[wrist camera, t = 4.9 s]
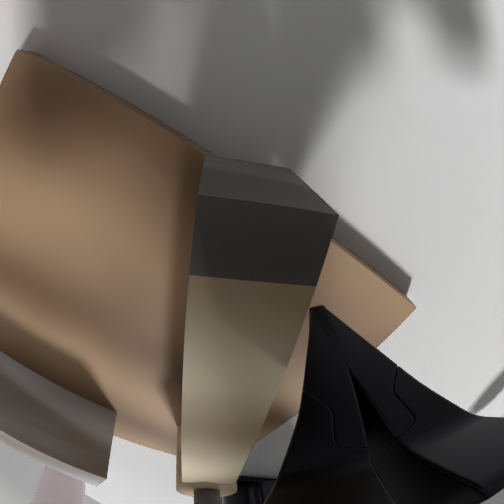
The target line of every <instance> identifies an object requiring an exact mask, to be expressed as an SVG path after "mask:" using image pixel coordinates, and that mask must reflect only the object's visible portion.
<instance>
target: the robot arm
mask: <svg viewBox="0 0 504 504" xmlns="http://www.w3.org/2000/svg"><path fill="white" fill-rule="evenodd" d="M236 482H237V492H236V493H234V494H232V495H229V496H224V497H221V504H504V418H501V417H483V416H478V415H475V414H472V413H469V412H467V411H465V410H464V409H462V408H460V407H459V406H457V405H455V404H454V403H452V402H450V401H449V400H447V399H445V398H444V397H442V396H440V395H439V394H437V393H436V392H434V391H432V390H431V389H429V388H428V387H426V386H425V385H423V384H422V383H420V382H419V381H418V380H416V379H415V378H414V377H412V376H411V375H410V374H408V373H407V372H406V371H404V370H403V369H402V368H401V367H399V366H398V367H397V364H395V363H394V362H393V361H392V360H390V359H389V358H388V357H387V356H385V355H384V354H383V353H382V352H380V351H379V350H378V349H377V348H375V347H374V346H373V345H372V344H370V343H369V342H368V341H367V340H365V339H364V338H363V337H362V336H360V335H359V334H358V333H357V332H355V331H354V330H353V329H352V328H350V327H349V326H348V325H346V324H345V323H344V322H343V321H341V320H340V319H339V318H338V317H336V316H335V315H334V314H333V313H331V312H330V311H329V310H328V309H326V307H325V306H324V305H319V306H314V307H310V308H309V336H308V346H307V355H306V364H305V372H304V381H303V388H302V395H301V402H300V408H299V413H298V418H297V422H296V426H295V429H294V432H293V436H292V439H291V441H290V444H289V447H288V450H287V453H286V456H285V458H284V461H283V464H282V467H281V469H280V472H279V475H278V477H277V479H276V480H264V479H254V478H245V477H240V478H238V479H237V481H236Z"/></svg>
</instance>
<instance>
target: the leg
mask: <svg viewBox="0 0 504 504" xmlns="http://www.w3.org/2000/svg"><path fill="white" fill-rule="evenodd" d="M338 216H339V215H338V214H337V213H336V212H335V211H334V210H333V209H332V208H331V207H330V206H329V205H328V204H327V203H326V202H325V201H324V200H323V199H322V198H321V197H320V196H319V195H318V194H316V193H315V192H314V191H313V190H312V189H311V188H310V187H309V186H308V185H307V184H306V183H305V182H304V181H303V180H302V179H300V178H299V177H298V176H297V175H296V174H295V173H294V172H293V171H292V170H291V169H287V168H282V167H276V166H270V165H264V164H258V163H252V162H245V161H239V160H232V159H225V158H217V157H209V156H205V159H204V164H203V169H202V174H201V180H200V185H199V191H198V197H197V205H196V213H195V222H194V231H193V240H192V250H191V260H190V270H189V282H188V294H187V307H186V321H185V337H184V356H183V380H182V421H181V425H180V426H179V427H178V429H177V465H176V490H177V491H178V492H179V493H181V494H184V495H187V496H192V497H194V491H196V490H201V489H212V490H218V491H220V494H221V497H224V496H229V495H232V494H234V493H236V492H237V482H236V481H237V479H238V477H239V475H240V473H241V471H242V469H243V467H244V465H245V463H246V460H247V458H248V456H249V454H250V452H251V450H252V448H253V445H254V443H255V441H256V439H257V437H258V434H259V432H260V430H261V428H262V425H263V423H264V421H265V419H266V416H267V414H268V412H269V409H270V407H271V405H272V402H273V400H274V398H275V395H276V393H277V390H278V388H279V385H280V383H281V380H282V378H283V375H284V373H285V370H286V368H287V365H288V363H289V360H290V358H291V355H292V352H293V350H294V347H295V345H296V342H297V339H298V337H299V334H300V331H301V328H302V326H303V323H304V320H305V317H306V315H307V312H308V309H309V306H310V303H311V300H312V297H313V295H314V292H315V289H316V286H317V283H318V280H319V277H320V274H321V271H322V268H323V264H324V261H325V258H326V255H327V252H328V249H329V246H330V242H331V239H332V236H333V232H334V229H335V226H336V222H337V219H338Z"/></svg>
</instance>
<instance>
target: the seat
mask: <svg viewBox="0 0 504 504" xmlns="http://www.w3.org/2000/svg"><path fill="white" fill-rule="evenodd" d="M205 156H209V157H216V156H214V155H213V154H211V153H210V152H208V151H207V150H205V149H204V148H202V147H200V146H199V145H197V144H196V143H194V142H193V141H191V140H189V139H188V138H186V137H185V136H183V135H181V134H180V133H178V132H176V131H175V130H173V129H172V128H170V127H168V126H167V125H165V124H163V123H162V122H160V121H158V120H157V119H155V118H153V117H152V116H150V115H148V114H147V113H145V112H143V111H142V110H140V109H138V108H136V107H135V106H133V105H131V104H129V103H128V102H126V101H124V100H122V99H121V98H119V97H117V96H115V95H114V94H112V93H110V92H108V91H106V90H105V89H103V88H101V87H99V86H97V85H95V84H94V83H92V82H90V81H88V80H86V79H84V78H82V77H81V76H79V75H77V74H75V73H73V72H71V71H69V70H67V69H65V68H63V67H61V66H59V65H57V64H55V63H53V62H51V61H49V60H47V59H45V58H43V57H41V56H39V55H37V54H35V53H33V52H30V51H24V50H17V51H16V52H15V54H14V56H13V58H12V60H11V62H10V64H9V67H8V69H7V71H6V73H5V75H4V77H3V80H2V82H1V84H0V442H2V443H4V444H5V445H7V446H8V447H10V448H12V449H14V450H16V451H18V452H19V453H21V454H23V455H25V456H27V457H29V458H31V459H33V460H35V461H37V462H39V463H41V464H43V465H45V466H47V467H50V468H52V469H54V470H56V471H59V472H61V473H64V474H66V475H68V476H71V477H73V478H76V479H79V480H81V481H84V482H87V483H90V484H92V485H95V486H98V485H99V484H101V483H102V482H103V481H104V480H106V479H107V472H108V464H109V457H110V451H111V444H112V438H113V435H114V436H117V437H119V438H122V439H125V440H128V441H131V442H134V443H137V444H140V445H143V446H146V447H149V448H152V449H156V450H159V451H163V452H166V453H170V454H174V455H177V429H178V427H179V426H180V425H181V421H182V380H183V356H184V337H185V321H186V307H187V294H188V282H189V270H190V260H191V250H192V240H193V231H194V222H195V213H196V205H197V197H198V191H199V185H200V180H201V174H202V169H203V164H204V159H205ZM217 158H218V157H217ZM319 305H324V306H325V307H326V309H328V310H329V311H330V312H331V313H333V314H334V315H335V316H336V317H338V318H339V319H340V320H341V321H343V322H344V323H345V324H346V325H348V326H349V327H350V328H352V329H353V330H354V331H355V332H357V333H358V334H359V335H360V336H362V337H363V338H364V339H365V340H367V341H368V342H369V343H370V344H372V345H373V346H374V347H375V348H377V347H378V346H379V345H380V344H381V343H382V342H383V341H384V340H385V339H386V338H387V337H388V336H389V335H390V334H391V333H392V332H393V331H394V330H395V329H396V328H397V327H398V326H399V325H400V324H401V323H402V322H403V321H404V320H405V319H406V318H407V317H408V316H409V315H410V314H411V313H412V312H413V311H414V310H415V309H416V307H415V305H414V304H413V303H412V302H411V301H410V299H409V298H408V297H407V296H406V295H405V294H404V293H402V292H401V291H400V290H399V289H397V288H396V287H395V286H394V285H392V284H391V283H390V282H389V281H388V280H386V279H385V278H384V277H383V276H381V275H380V274H379V273H378V272H376V271H375V270H374V269H372V268H371V267H370V266H369V265H367V264H366V263H365V262H364V261H362V260H361V259H360V258H358V257H357V256H356V255H354V254H353V253H352V252H351V251H349V250H348V249H347V248H345V247H344V246H343V245H341V244H340V243H339V242H337V241H336V240H335V239H333V238H332V239H331V242H330V246H329V249H328V252H327V255H326V258H325V261H324V264H323V268H322V271H321V274H320V277H319V280H318V283H317V286H316V289H315V292H314V295H313V297H312V300H311V303H310V306H309V308H310V307H314V306H319ZM308 336H309V309H308V312H307V315H306V317H305V320H304V323H303V326H302V328H301V331H300V334H299V337H298V339H297V342H296V345H295V347H294V350H293V352H292V355H291V358H290V360H289V363H288V365H287V368H286V370H285V373H284V375H283V378H282V380H281V383H280V385H279V388H278V390H277V393H276V395H275V398H274V400H273V402H272V405H271V407H270V409H269V412H268V414H267V416H266V419H265V421H264V423H263V425H262V428H261V430H260V432H259V434H258V437H257V439H256V441H258V440H259V439H261V438H263V437H264V436H266V435H267V434H269V433H270V432H272V431H273V430H275V429H276V428H277V427H279V426H280V425H282V424H283V423H285V422H286V421H288V420H289V419H290V418H292V417H293V416H295V415H296V414H297V413H299V408H300V402H301V395H302V388H303V381H304V372H305V364H306V355H307V346H308ZM256 441H255V442H256ZM194 504H221V494H220V491H218V490H212V489H201V490H196V491H194Z"/></svg>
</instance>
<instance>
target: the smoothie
mask: <svg viewBox="0 0 504 504" xmlns="http://www.w3.org/2000/svg"><path fill="white" fill-rule="evenodd" d="M31 504H85V482H84V481H81V480H79V479H76V478H73V477H71V476H68V475H66V474H64V473H61V472H59V471H56V470H54V469H52V468H50V467H47V466H44V469H43V471H42V474H41V477H40V479H39V482H38V485H37V487H36V490H35V493H34V496H33V498H32V501H31Z"/></svg>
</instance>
